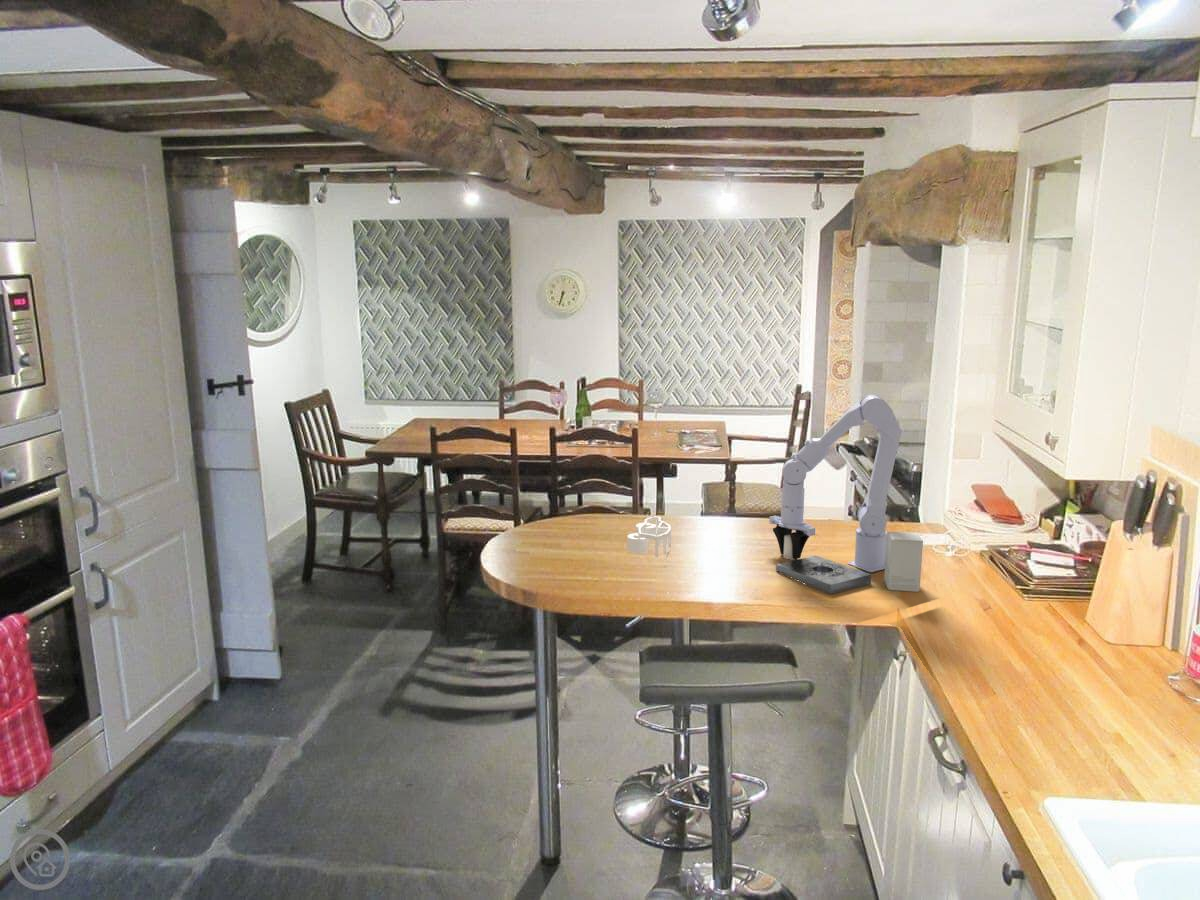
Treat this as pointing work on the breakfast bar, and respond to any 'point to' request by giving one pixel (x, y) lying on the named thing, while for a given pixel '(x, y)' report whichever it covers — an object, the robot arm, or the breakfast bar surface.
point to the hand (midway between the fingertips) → (790, 555)
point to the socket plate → (824, 574)
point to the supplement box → (903, 561)
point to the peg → (788, 547)
